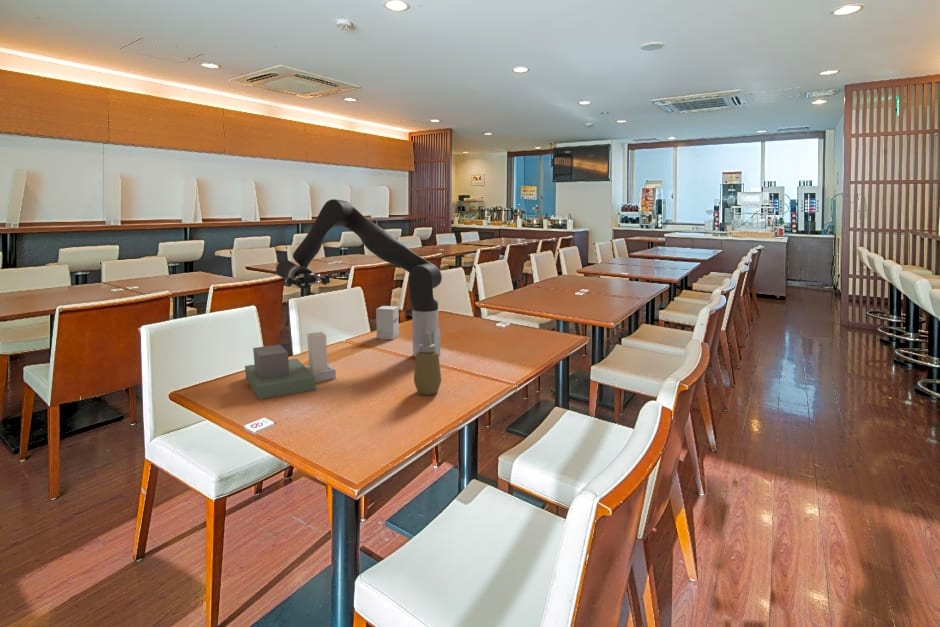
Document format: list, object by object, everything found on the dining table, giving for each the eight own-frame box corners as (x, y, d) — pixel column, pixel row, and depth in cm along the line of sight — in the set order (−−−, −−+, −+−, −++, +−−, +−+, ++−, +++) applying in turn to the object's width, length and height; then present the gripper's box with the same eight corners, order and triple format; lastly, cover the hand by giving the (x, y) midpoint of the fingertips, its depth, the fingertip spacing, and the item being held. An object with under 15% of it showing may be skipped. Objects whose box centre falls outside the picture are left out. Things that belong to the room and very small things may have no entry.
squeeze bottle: (414, 388, 158) (413, 329, 155) (441, 387, 159) (440, 329, 155) (413, 397, 151) (412, 336, 147) (442, 396, 151) (441, 336, 148)
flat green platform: (322, 366, 179) (320, 334, 177) (342, 384, 161) (341, 350, 159) (245, 378, 167) (242, 344, 165) (258, 399, 149) (255, 362, 146)
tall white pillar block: (324, 374, 171) (321, 332, 168) (328, 378, 167) (325, 335, 164) (309, 376, 169) (307, 333, 166) (313, 380, 165) (311, 337, 162)
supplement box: (393, 340, 214) (392, 309, 211) (376, 339, 215) (375, 308, 213) (399, 335, 221) (398, 306, 218) (382, 334, 222) (381, 305, 220)
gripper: (279, 267, 187) (290, 272, 173) (320, 265, 194) (333, 270, 181) (281, 288, 189) (292, 295, 175) (321, 285, 196) (334, 291, 182)
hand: (313, 282), depth 178 cm, fingers open, 8 cm apart
